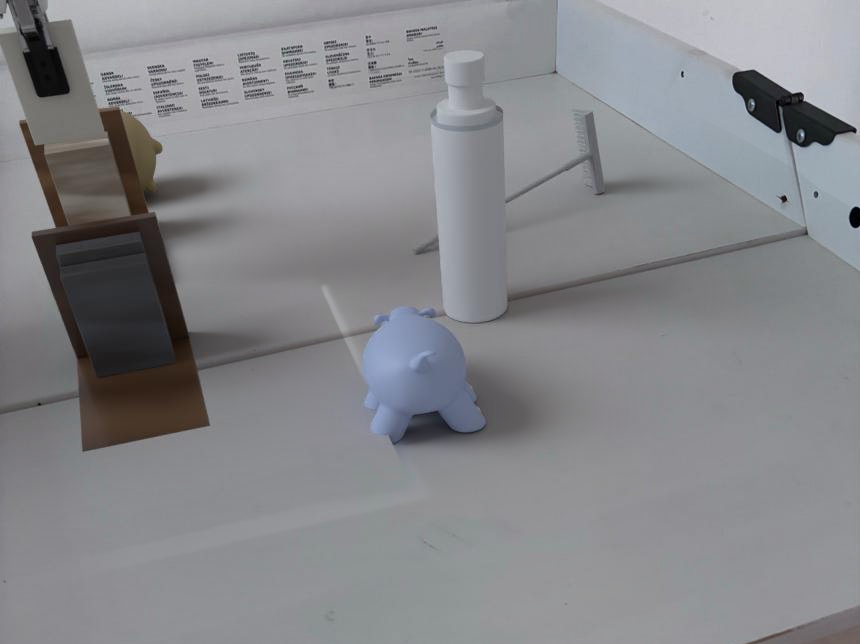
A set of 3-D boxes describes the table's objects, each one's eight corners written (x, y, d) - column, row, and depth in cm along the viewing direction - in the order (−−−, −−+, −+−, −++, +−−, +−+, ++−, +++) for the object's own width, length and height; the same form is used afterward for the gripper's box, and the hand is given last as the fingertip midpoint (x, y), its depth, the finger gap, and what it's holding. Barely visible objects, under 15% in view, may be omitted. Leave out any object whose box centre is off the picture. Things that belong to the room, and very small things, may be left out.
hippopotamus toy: (461, 358, 94) (455, 263, 88) (494, 444, 84) (491, 344, 77) (351, 374, 93) (336, 279, 86) (371, 463, 83) (357, 363, 76)
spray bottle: (464, 329, 98) (449, 51, 80) (432, 304, 102) (410, 33, 84) (519, 310, 101) (516, 35, 83) (485, 286, 105) (475, 19, 87)
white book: (35, 138, 101) (-4, 28, 94) (104, 128, 102) (71, 19, 95) (35, 145, 99) (-4, 34, 92) (105, 135, 101) (71, 24, 93)
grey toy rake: (411, 283, 116) (387, 206, 110) (586, 184, 123) (573, 106, 117) (427, 291, 114) (403, 213, 107) (605, 190, 121) (593, 110, 114)
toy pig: (115, 215, 131) (39, 177, 123) (149, 129, 128) (74, 83, 120) (148, 235, 126) (70, 195, 117) (184, 144, 123) (107, 98, 114)
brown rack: (80, 363, 97) (31, 231, 87) (191, 342, 99) (155, 211, 89) (86, 462, 85) (30, 322, 75) (212, 436, 87) (173, 296, 77)
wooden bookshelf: (60, 237, 118) (19, 120, 109) (151, 222, 120) (119, 106, 111) (63, 301, 106) (16, 176, 97) (164, 284, 108) (129, 159, 99)
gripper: (-61, -150, 89) (16, 73, 102) (-75, -125, 78) (14, 121, 92) (24, -158, 90) (89, 63, 104) (22, -134, 80) (95, 109, 93)
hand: (53, 88), depth 97 cm, fingers closed on white book, 2 cm apart
